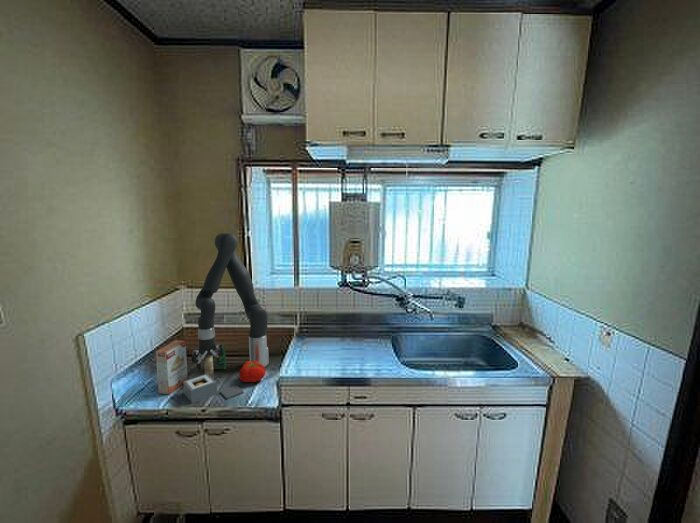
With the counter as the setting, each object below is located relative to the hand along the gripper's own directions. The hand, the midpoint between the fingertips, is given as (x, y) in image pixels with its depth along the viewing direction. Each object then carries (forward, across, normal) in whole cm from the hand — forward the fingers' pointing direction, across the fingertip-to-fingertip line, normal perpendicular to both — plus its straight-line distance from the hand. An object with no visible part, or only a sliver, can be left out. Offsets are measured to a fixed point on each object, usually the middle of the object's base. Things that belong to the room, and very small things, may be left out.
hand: (208, 367), depth 165 cm
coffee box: (+7, -8, -9) cm, 14 cm away
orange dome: (+5, +8, +10) cm, 14 cm away
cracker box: (+7, +15, -5) cm, 17 cm away
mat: (+7, -3, +19) cm, 21 cm away
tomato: (+7, -16, +15) cm, 23 cm away
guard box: (+7, +8, +10) cm, 14 cm away
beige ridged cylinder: (+7, 0, 0) cm, 7 cm away
